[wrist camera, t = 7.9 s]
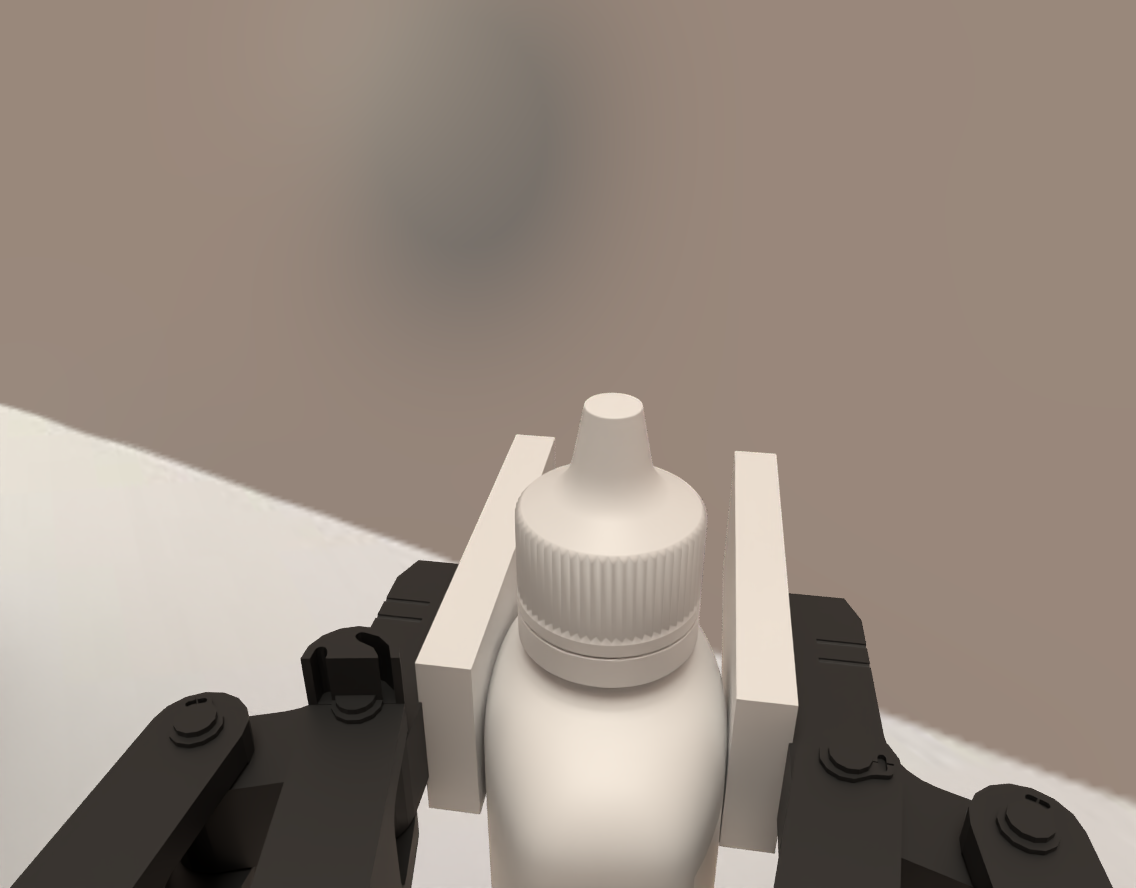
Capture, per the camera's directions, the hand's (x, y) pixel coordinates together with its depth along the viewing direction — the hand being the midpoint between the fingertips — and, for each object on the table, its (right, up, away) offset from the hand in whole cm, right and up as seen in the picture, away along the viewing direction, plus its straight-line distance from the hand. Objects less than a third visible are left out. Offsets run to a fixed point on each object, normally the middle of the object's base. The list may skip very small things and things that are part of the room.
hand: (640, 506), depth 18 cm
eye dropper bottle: (-1, -9, -1) cm, 9 cm away
